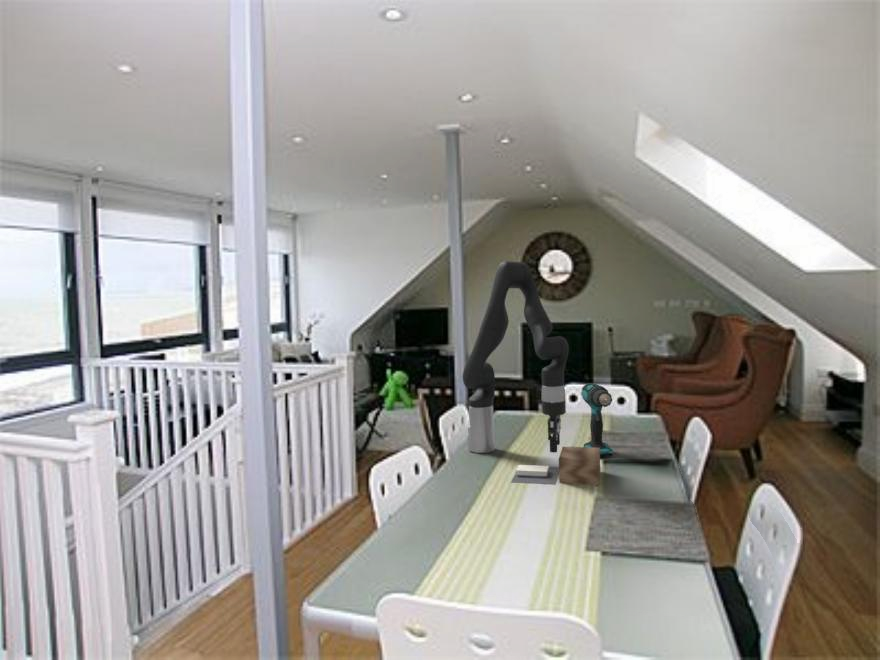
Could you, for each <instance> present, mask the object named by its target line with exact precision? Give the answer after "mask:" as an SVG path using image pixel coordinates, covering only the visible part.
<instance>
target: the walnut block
mask: <svg viewBox="0 0 880 660" xmlns="http://www.w3.org/2000/svg"><path fill="white" fill-rule="evenodd" d="M558 467H559V475H558V479H559V480H558V481H559V483H560V484H575V485H577V484H580V485H595V486H597V487H599V486H600V479H601V454H600V448H592V447H584V446H562V448H561V451H560V454H559V456H558Z"/></svg>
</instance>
